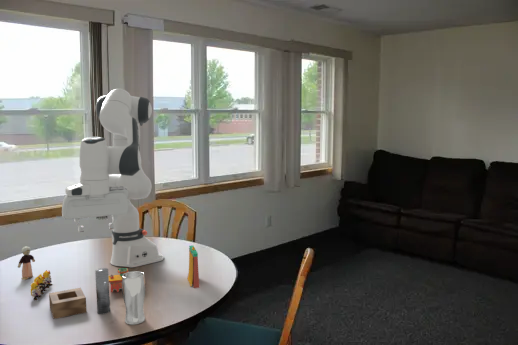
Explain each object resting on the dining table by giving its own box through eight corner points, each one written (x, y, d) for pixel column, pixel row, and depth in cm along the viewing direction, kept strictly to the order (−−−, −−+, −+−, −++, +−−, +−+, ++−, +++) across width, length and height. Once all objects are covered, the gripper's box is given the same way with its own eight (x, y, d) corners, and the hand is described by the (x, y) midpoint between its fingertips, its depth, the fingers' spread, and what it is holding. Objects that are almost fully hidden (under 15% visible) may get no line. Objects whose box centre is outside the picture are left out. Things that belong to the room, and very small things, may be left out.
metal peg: (108, 307, 157) (106, 267, 155) (111, 312, 154) (109, 270, 152) (96, 310, 155) (94, 269, 153) (98, 314, 152) (96, 273, 150)
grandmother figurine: (25, 281, 181) (23, 249, 179) (17, 280, 182) (14, 248, 180) (38, 274, 188) (36, 243, 187) (30, 273, 189) (28, 243, 188)
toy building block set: (199, 288, 175) (198, 251, 173) (100, 298, 165) (98, 259, 163) (194, 276, 187) (193, 242, 185) (101, 286, 177) (99, 249, 175)
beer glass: (125, 316, 151) (124, 271, 149) (147, 315, 151) (146, 270, 149) (121, 326, 144) (119, 278, 142) (144, 325, 144) (142, 278, 142)
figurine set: (27, 301, 162) (26, 283, 161) (44, 284, 178) (43, 267, 177) (38, 301, 163) (36, 283, 162) (54, 284, 179) (52, 267, 178)
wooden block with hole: (81, 301, 162) (80, 287, 161) (86, 312, 154) (85, 297, 153) (49, 307, 157) (48, 293, 156) (53, 319, 149) (52, 303, 148)
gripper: (126, 184, 158) (127, 225, 159) (60, 188, 148) (62, 231, 150) (130, 187, 152) (131, 229, 154) (62, 191, 143) (63, 235, 144)
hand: (96, 230), depth 152 cm, fingers open, 8 cm apart
